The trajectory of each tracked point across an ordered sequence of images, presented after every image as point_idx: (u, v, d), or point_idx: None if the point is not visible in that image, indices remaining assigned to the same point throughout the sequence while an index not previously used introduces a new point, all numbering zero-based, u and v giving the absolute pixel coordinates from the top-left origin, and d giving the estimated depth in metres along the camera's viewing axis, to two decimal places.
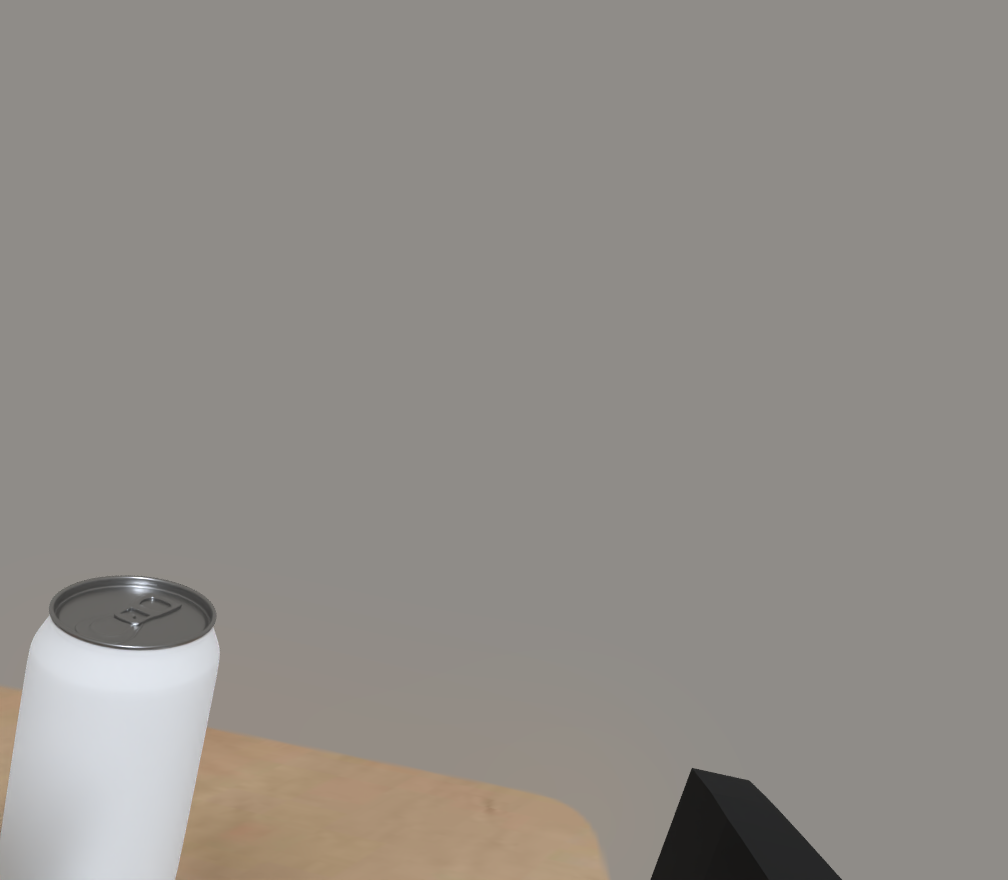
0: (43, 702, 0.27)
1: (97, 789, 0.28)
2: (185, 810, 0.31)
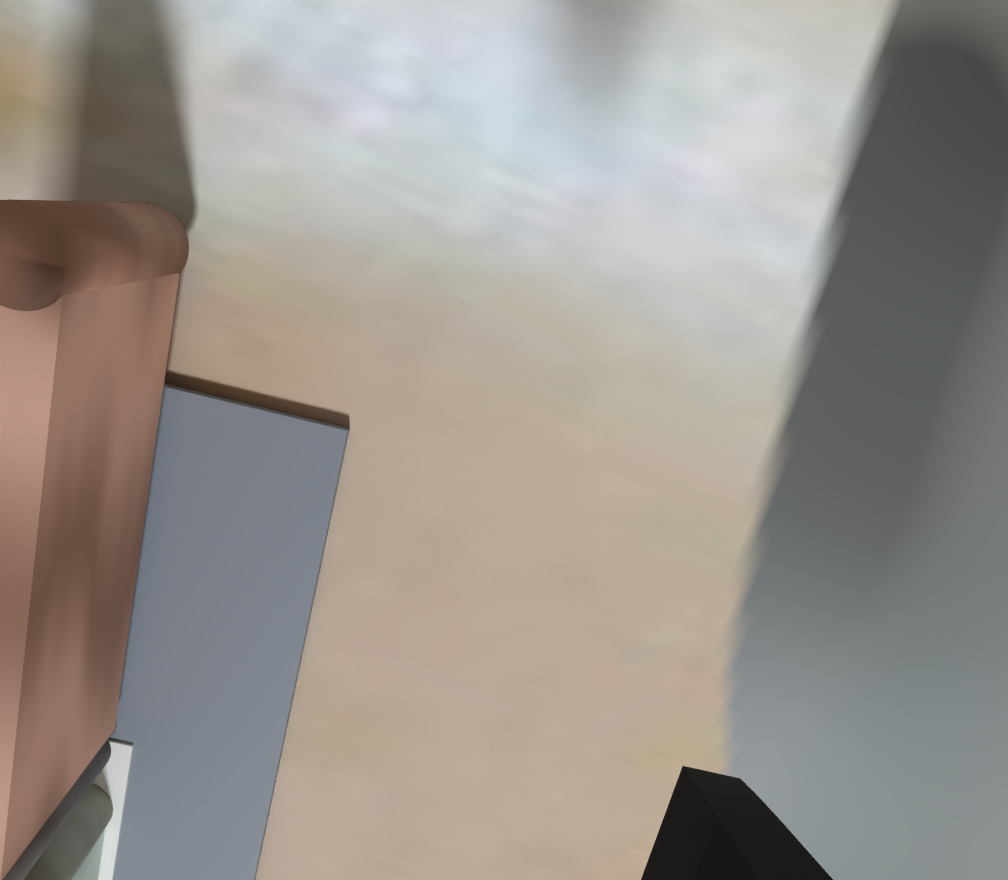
0: None
1: None
2: None
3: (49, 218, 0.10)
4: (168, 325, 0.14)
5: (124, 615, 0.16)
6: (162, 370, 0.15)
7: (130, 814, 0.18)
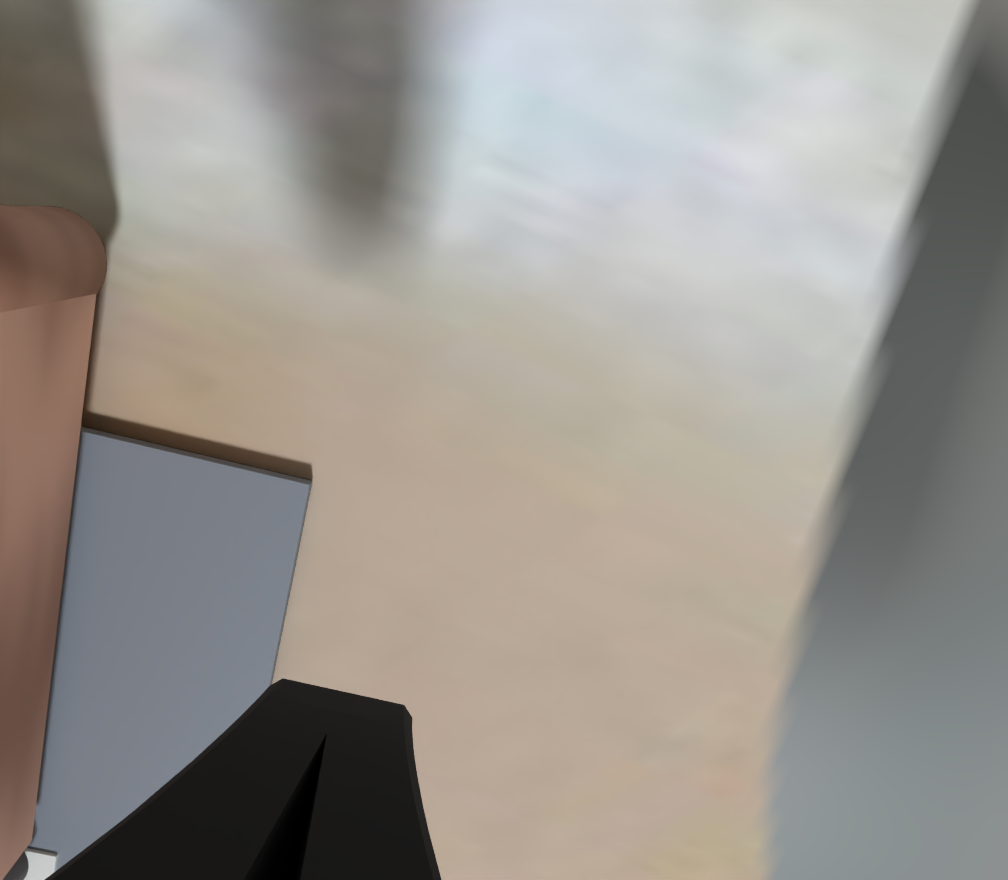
0: None
1: None
2: None
3: None
4: (82, 358, 0.12)
5: (37, 709, 0.13)
6: (76, 414, 0.12)
7: None
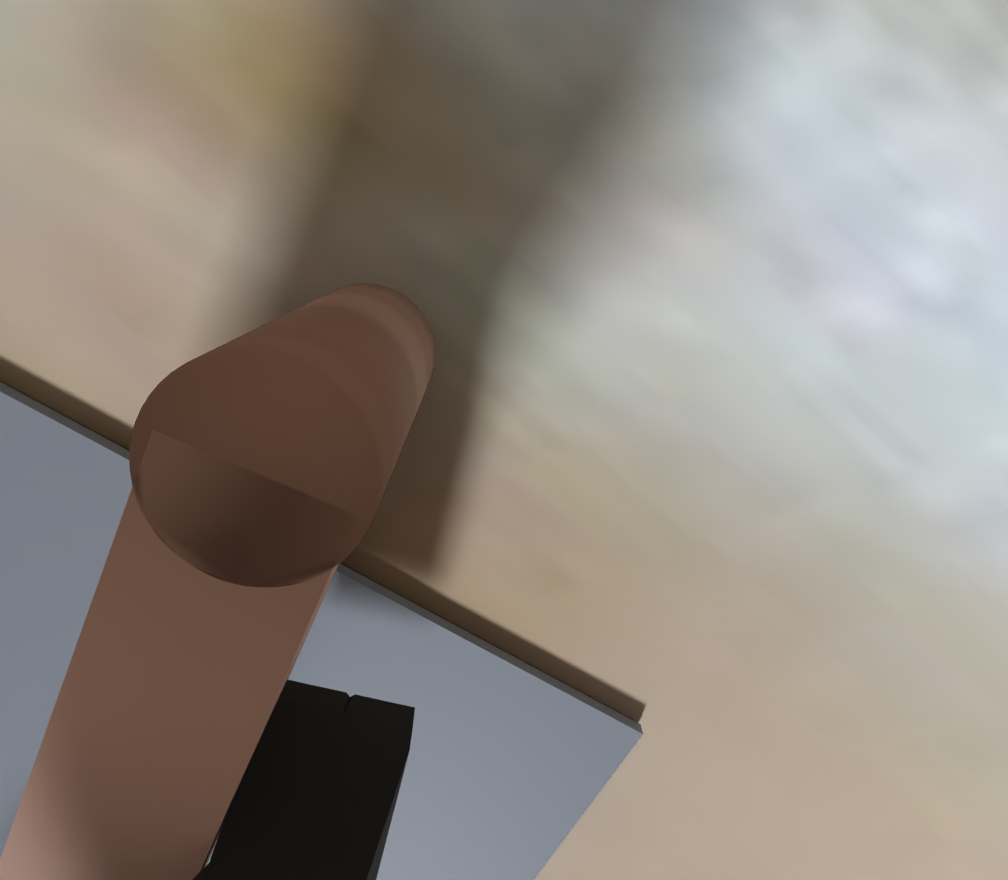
0: None
1: None
2: None
3: (348, 404, 0.04)
4: None
5: None
6: None
7: None
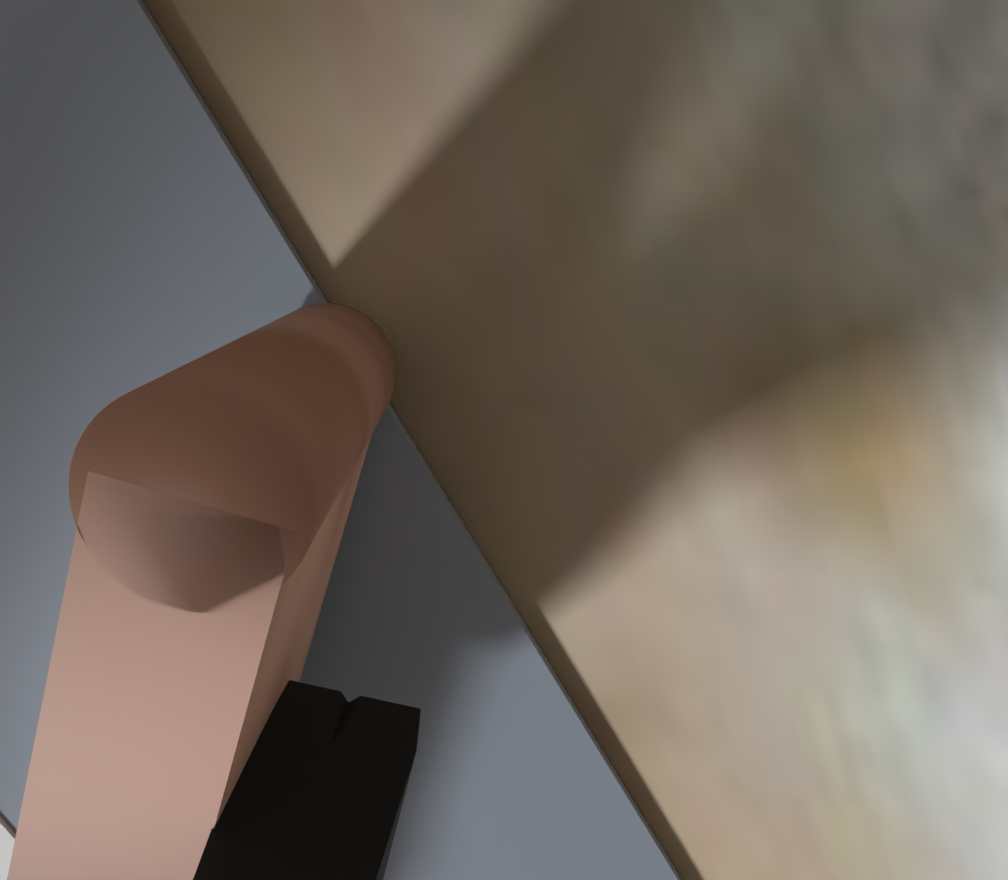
0: None
1: None
2: None
3: (273, 425, 0.05)
4: (350, 503, 0.09)
5: None
6: (330, 572, 0.09)
7: None
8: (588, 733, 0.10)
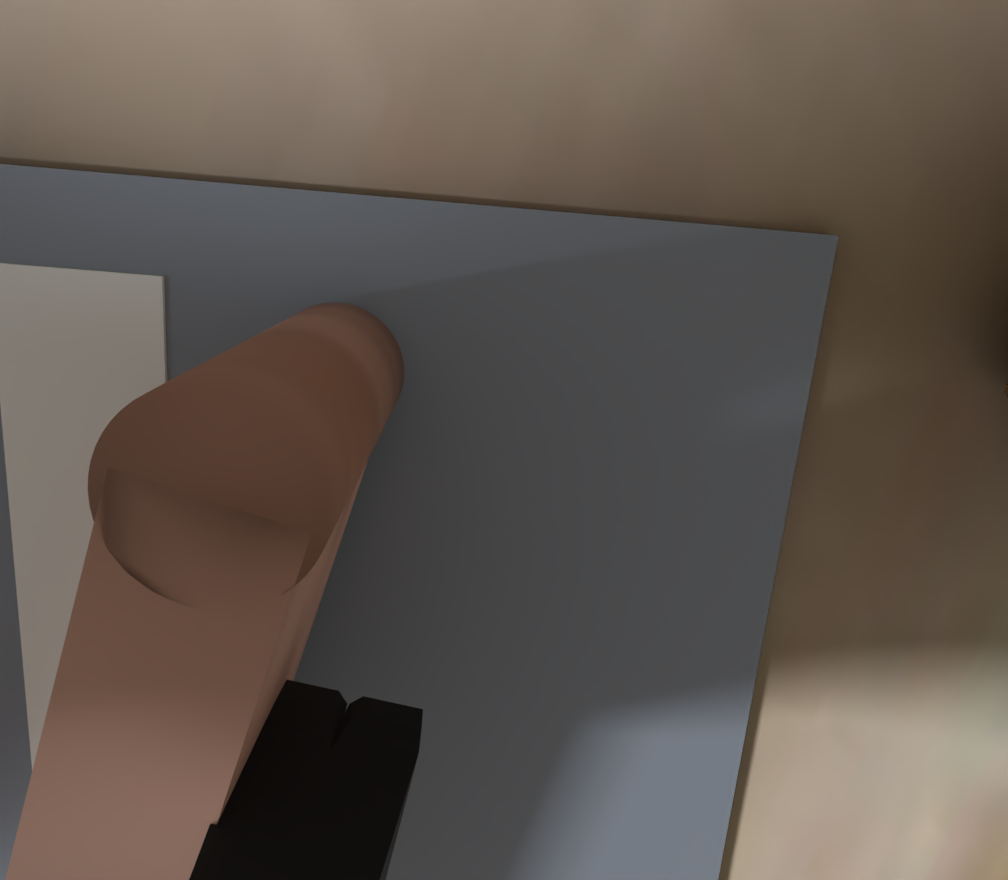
0: None
1: None
2: None
3: (294, 427, 0.05)
4: (352, 502, 0.09)
5: None
6: (329, 570, 0.09)
7: None
8: None
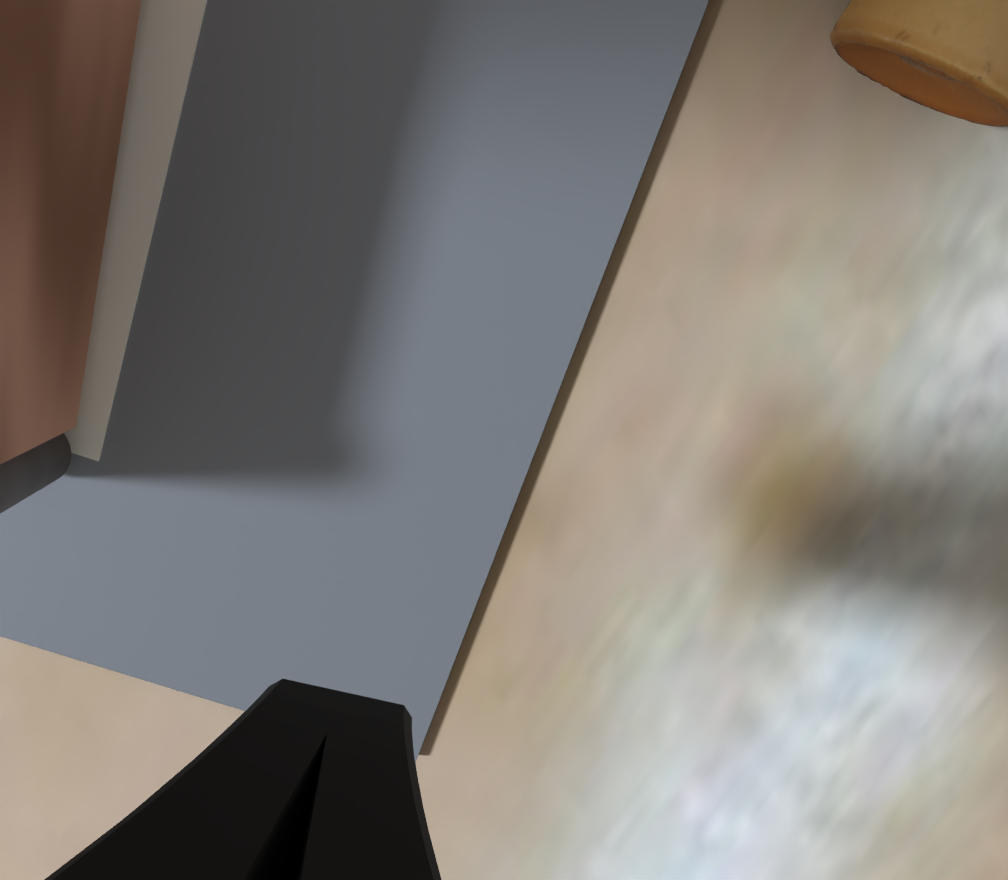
0: None
1: None
2: None
3: None
4: None
5: (91, 257, 0.13)
6: None
7: None
8: (514, 504, 0.14)
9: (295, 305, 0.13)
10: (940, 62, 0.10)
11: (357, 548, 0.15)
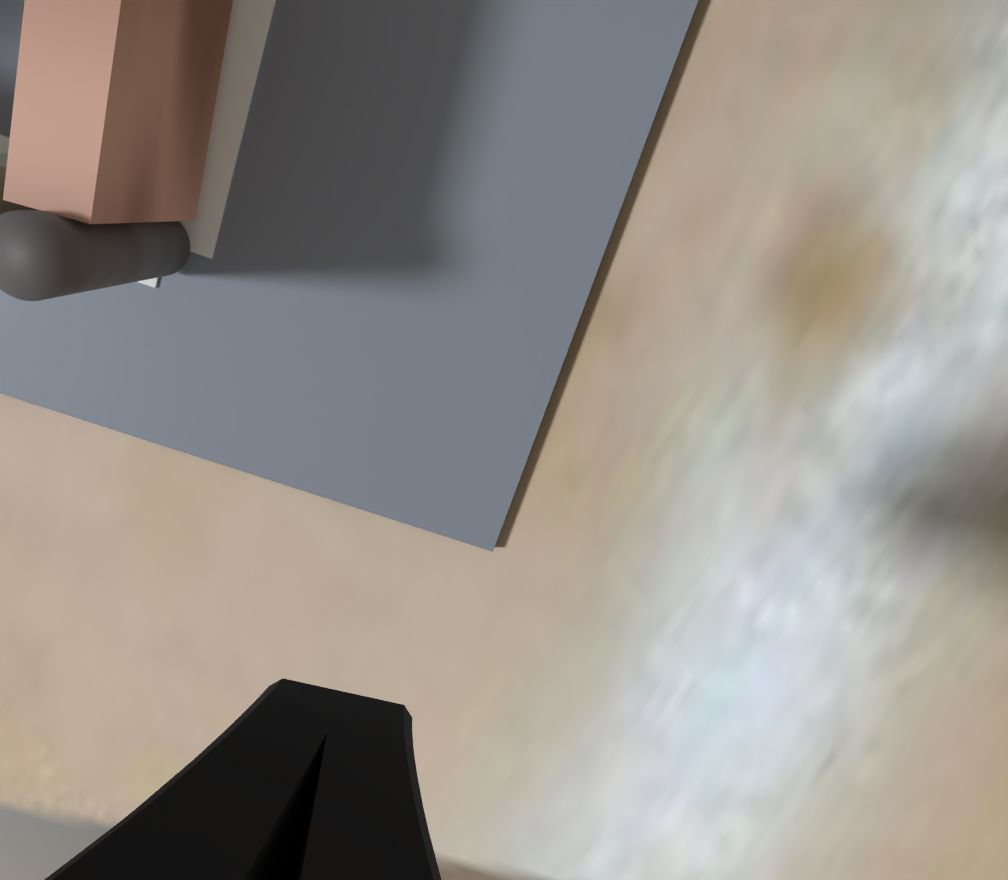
0: None
1: None
2: None
3: None
4: None
5: (216, 53, 0.14)
6: None
7: None
8: (586, 298, 0.16)
9: (393, 107, 0.15)
10: None
11: (444, 341, 0.16)
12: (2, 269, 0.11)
